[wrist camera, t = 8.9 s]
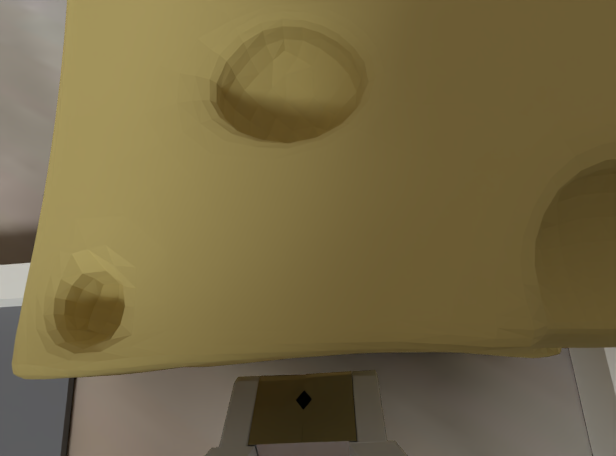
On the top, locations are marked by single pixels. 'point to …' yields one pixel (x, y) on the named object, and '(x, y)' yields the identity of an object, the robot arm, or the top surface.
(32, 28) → the top surface
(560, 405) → the top surface
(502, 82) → the cheese
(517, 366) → the top surface
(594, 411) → the frame
